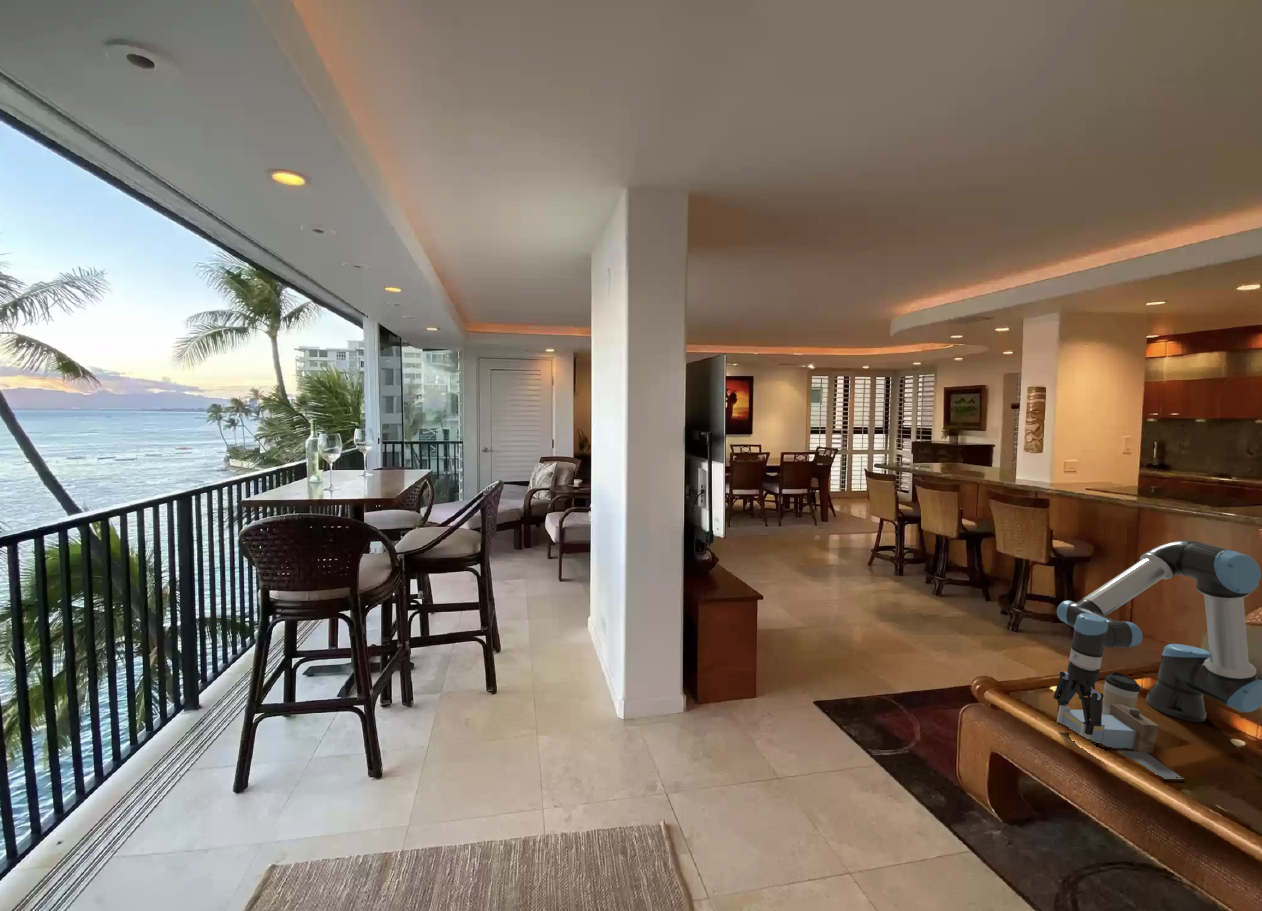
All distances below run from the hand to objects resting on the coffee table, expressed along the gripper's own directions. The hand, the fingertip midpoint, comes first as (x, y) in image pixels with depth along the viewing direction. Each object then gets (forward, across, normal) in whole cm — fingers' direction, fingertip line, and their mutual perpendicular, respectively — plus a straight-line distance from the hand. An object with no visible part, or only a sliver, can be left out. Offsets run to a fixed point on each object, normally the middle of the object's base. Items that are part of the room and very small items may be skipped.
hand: (1072, 733), depth 176 cm
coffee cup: (+2, -12, +25) cm, 28 cm away
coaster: (+2, +12, +12) cm, 17 cm away
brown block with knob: (+2, 0, +18) cm, 19 cm away
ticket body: (+2, 0, +13) cm, 13 cm away
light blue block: (0, 0, +3) cm, 3 cm away
